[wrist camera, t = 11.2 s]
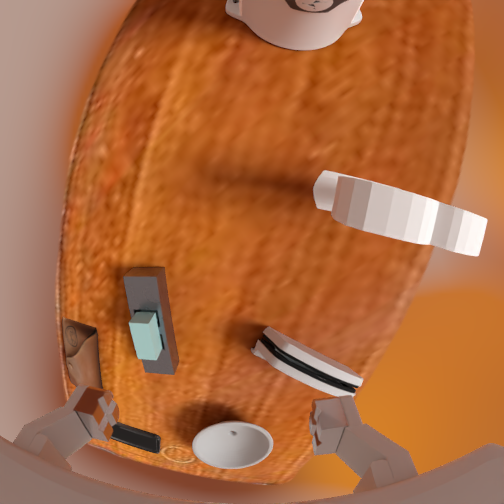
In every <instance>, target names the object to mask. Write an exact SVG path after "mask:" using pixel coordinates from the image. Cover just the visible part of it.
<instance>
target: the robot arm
mask: <svg viewBox="0 0 504 504" xmlns="http://www.w3.org/2000/svg"><path fill="white" fill-rule="evenodd" d="M235 1H238V3H233V2H235ZM363 1H364V0H227V3H226V8H225V10H226V13H227V14H228V15H230V16H232V17H234V18H236V19H239V20H241V21H243V22H244V23H246V24H247V25H248V26H249V27H250V29H251V30H252V31H253V32H254V33H256V34H257V35H258V36H259V37H261V38H262V39H264V40H266V41H268V42H270V43H272V44H274V45H277V46H280V47H283V48H287V49H293V50H314V49H319V48H323V47H326V46H328V45H330V44H332V43H334V42H335V41H336V40H337V39H339V38H340V36H341V35H342V34H343V33H344V31H345V30H346V29H347V28H349V27H352V26H354V25H357V24H358V23H360V21H361V19H362V14H361V12H360V7H361V5H362V3H363ZM112 399H113V394H112V392H111V391H109V390H105V389H100V388H96V387H92V386H87V385H83V384H80V385H78V386H77V387H76V389H75V390H74V392H73V393H72V395H71V397H70V398H69V400H68V401H67V403H66V404H65V406H64V407H60V408H58V409H56V410H54V411H52V412H50V413H48V414H46V415H44V416H42V417H40V418H38V419H36V420H34V421H32V422H30V423H28V424H26V425H24V427H23V428H22V430H21V431H20V433H19V434H18V436H17V437H16V439H15V440H14V442H13V443H12V442H10V441H8V440H6V439H5V438H3V437H2V436H0V504H226V503H210V502H199V501H190V500H183V499H176V498H169V497H163V496H157V495H153V494H148V493H143V492H138V491H134V490H130V489H126V488H122V487H119V486H114V485H111V484H108V483H105V482H102V481H98V480H95V479H92V478H89V477H87V476H84V475H81V474H78V473H75V472H73V471H72V467H71V466H70V464H69V463H68V462H67V461H66V460H65V459H67V458H68V457H69V456H70V455H72V454H73V453H75V452H76V451H77V450H78V449H80V448H81V447H82V446H84V445H85V444H86V443H88V442H89V441H90V440H91V439H92V438H95V439H99V440H103V441H107V442H109V440H110V437H111V435H112V433H113V428H112V426H113V425H115V424H117V421H118V419H119V408H118V405H117V404H116V403H115V402H114V401H113V400H112ZM311 406H312V412H310V417H309V426H310V433H311V435H313V441H312V444H313V450H314V455H321V454H331V453H336V454H337V456H339V457H340V458H341V459H342V460H343V461H344V462H345V463H346V464H347V465H348V466H349V467H350V468H351V469H352V470H353V471H354V472H355V473H356V474H357V475H359V476H360V477H361V478H362V479H361V480H360V482H359V483H358V485H357V486H356V488H355V489H354V491H353V492H354V493H353V494H349V495H343V496H338V497H332V498H326V499H319V500H311V501H302V502H291V503H275V504H504V447H502V446H500V445H496V444H493V443H490V444H487V445H484V446H482V447H480V448H479V449H477V450H475V451H473V452H471V453H469V454H467V455H465V456H463V457H461V458H459V459H456V460H454V461H452V462H450V463H447V464H445V465H443V466H440V467H438V468H436V469H433V470H431V471H428V472H425V473H423V474H420V475H418V473H417V471H416V468H415V466H414V464H413V461H412V459H411V456H410V454H409V452H408V451H407V450H405V449H404V448H402V447H401V446H399V445H398V444H396V443H394V442H393V441H391V440H390V439H388V438H387V437H385V436H384V435H382V434H381V433H379V432H378V431H376V430H375V429H373V428H372V427H370V426H369V425H367V424H362V421H361V418H360V416H359V413H358V410H357V408H356V405H355V402H354V399H353V397H352V396H351V395H345V396H338V397H329V398H320V399H313V401H312V405H311Z"/></svg>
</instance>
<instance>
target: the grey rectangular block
mask: <svg viewBox="0 0 504 504" xmlns="http://www.w3.org/2000/svg"><path fill="white" fill-rule="evenodd" d="M123 278H124V284H125V289H126V295H127V300H128V305H129V309H130V314H131V319H132V317H133V316H134V315H135V313H136V312H140V311H141V310H157V311H158V316H159V319H158V321H157V324H158V329H159V334H162V337H163V342H162V350H161V352H160V354H159V356H158V359H157V360H146V359H142V362H143V366H144V369H145V372H148V373H159V374H171V375H174V374H175V372H176V369H177V366H178V363H179V357H178V352H177V346H176V341H175V335H174V330H173V324H172V318H171V311H170V305H169V298H168V291H167V284H166V276H165V268H164V267H133V268H132V269H131V270H130V271H129V272H127V273H126V274H125V275H124V276H123Z"/></svg>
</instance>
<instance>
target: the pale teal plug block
mask: <svg viewBox="0 0 504 504" xmlns="http://www.w3.org/2000/svg"><path fill="white" fill-rule="evenodd" d="M158 319H159V316H158V311H157V310H141V311H140V312H136V313H135V315H134V316H133V317H132V319H131V320H130V322H129V326H130V330H131V334H132V338H133V342H134V346H135V350H136V353H137V357H138V359H146V360H157V359H158V356H159V354H160V352H161V350H162V342H163V337H162V334H159V329H158V324H157V321H158Z"/></svg>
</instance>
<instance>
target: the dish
mask: <svg viewBox="0 0 504 504" xmlns="http://www.w3.org/2000/svg"><path fill="white" fill-rule="evenodd" d="M232 431H234V432H232ZM192 448H193V452H194V453H195V455H196V456H197V457H198V458H199V459H200V460H201V461H203V462H204V463H206V464H209V465H211V466H214V467H218V468H224V469H238V468H245V467H249V466H252V465H254V464H257V463H259V462H260V461H262V460H263V459H265V458H266V457H267V456H268V455H269V454H270V452H271V450H272V448H273V439H272V437H271V435H270V434H269V433H268V432H267V431H266V430H265V429H263V428H262V427H260V426H257V425H255V424H251V423H248V422H244V421H224V422H220V423H217V424H214V425H211V426H209V427H206V428H204V429H203V430H201V431H200V432H199V433H198V434H197V435H196V436H195V438H194V440H193V442H192Z"/></svg>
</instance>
